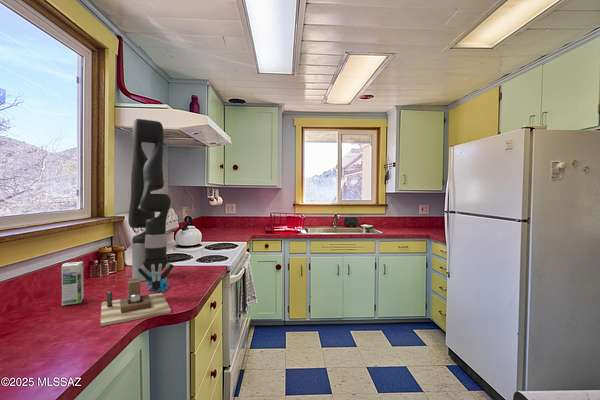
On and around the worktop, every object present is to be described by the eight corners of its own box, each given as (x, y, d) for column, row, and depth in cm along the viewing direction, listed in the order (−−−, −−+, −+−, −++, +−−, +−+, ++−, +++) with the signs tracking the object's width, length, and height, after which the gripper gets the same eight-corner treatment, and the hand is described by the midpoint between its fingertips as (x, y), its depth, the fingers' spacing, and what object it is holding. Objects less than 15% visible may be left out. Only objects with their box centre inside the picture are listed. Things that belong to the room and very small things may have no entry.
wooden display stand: (151, 307, 103) (151, 286, 103) (121, 312, 99) (120, 290, 98) (146, 295, 115) (146, 276, 115) (119, 299, 111) (119, 279, 110)
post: (130, 305, 105) (130, 294, 105) (139, 303, 107) (139, 292, 107) (130, 308, 103) (130, 296, 102) (140, 306, 104) (140, 295, 104)
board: (101, 305, 108) (101, 302, 108) (162, 295, 119) (162, 292, 118) (100, 326, 91) (100, 323, 91) (170, 312, 102) (170, 309, 102)
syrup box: (61, 306, 106) (60, 265, 106) (65, 300, 112) (64, 262, 111) (80, 303, 109) (80, 264, 109) (83, 298, 114) (83, 260, 114)
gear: (155, 292, 117) (143, 272, 120) (145, 302, 118) (133, 281, 121) (174, 287, 127) (163, 269, 130) (166, 296, 128) (154, 278, 131)
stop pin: (106, 305, 104) (106, 291, 104) (112, 305, 105) (112, 291, 105) (106, 307, 103) (106, 293, 103) (112, 306, 104) (112, 292, 104)
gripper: (172, 242, 121) (172, 284, 122) (135, 245, 114) (135, 290, 114) (176, 245, 115) (176, 290, 115) (137, 248, 108) (137, 296, 108)
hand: (155, 290), depth 115 cm, fingers closed
